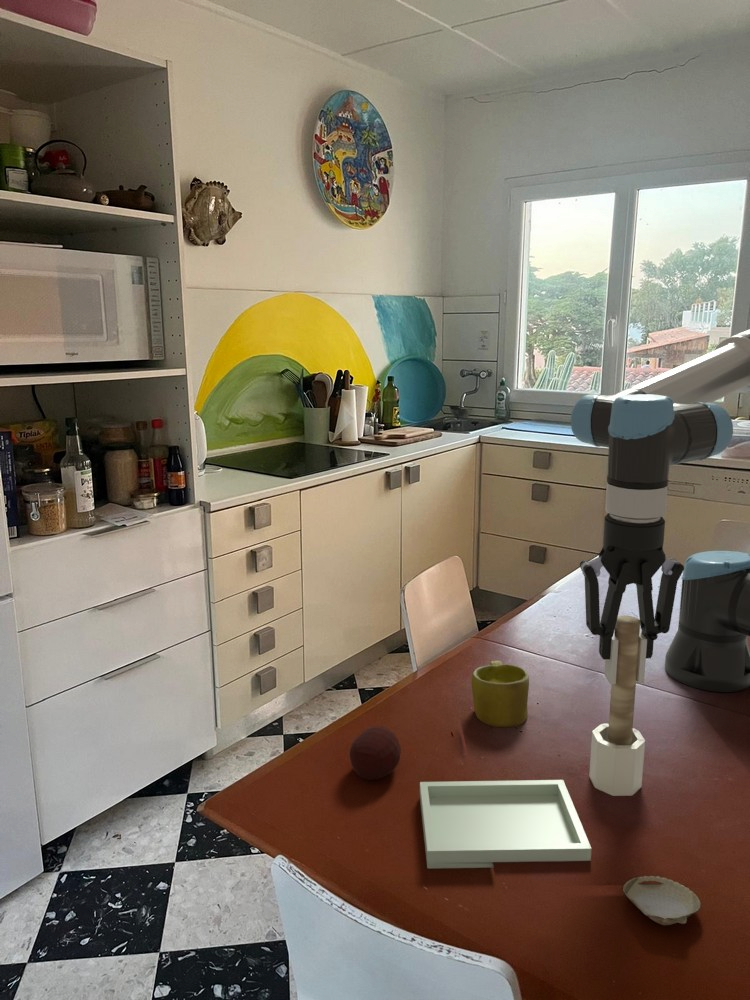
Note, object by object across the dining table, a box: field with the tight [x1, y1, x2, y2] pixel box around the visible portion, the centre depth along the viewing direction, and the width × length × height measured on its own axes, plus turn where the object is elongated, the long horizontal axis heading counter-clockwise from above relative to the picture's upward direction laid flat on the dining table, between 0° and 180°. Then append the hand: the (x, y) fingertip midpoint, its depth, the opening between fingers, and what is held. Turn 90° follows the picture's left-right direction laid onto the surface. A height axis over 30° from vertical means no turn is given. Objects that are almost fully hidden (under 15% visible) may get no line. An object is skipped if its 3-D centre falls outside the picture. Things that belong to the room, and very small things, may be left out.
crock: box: [588, 723, 646, 797], centre depth 109 cm, size 7×7×8 cm
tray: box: [419, 779, 593, 870], centre depth 100 cm, size 20×14×2 cm
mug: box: [471, 660, 530, 728], centre depth 128 cm, size 12×10×10 cm
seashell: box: [622, 875, 702, 926], centre depth 87 cm, size 8×3×8 cm
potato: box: [349, 725, 402, 781], centre depth 113 cm, size 7×10×6 cm
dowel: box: [608, 614, 641, 745], centre depth 106 cm, size 3×3×18 cm
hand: (623, 678), depth 106 cm, fingers closed on dowel, 3 cm apart
